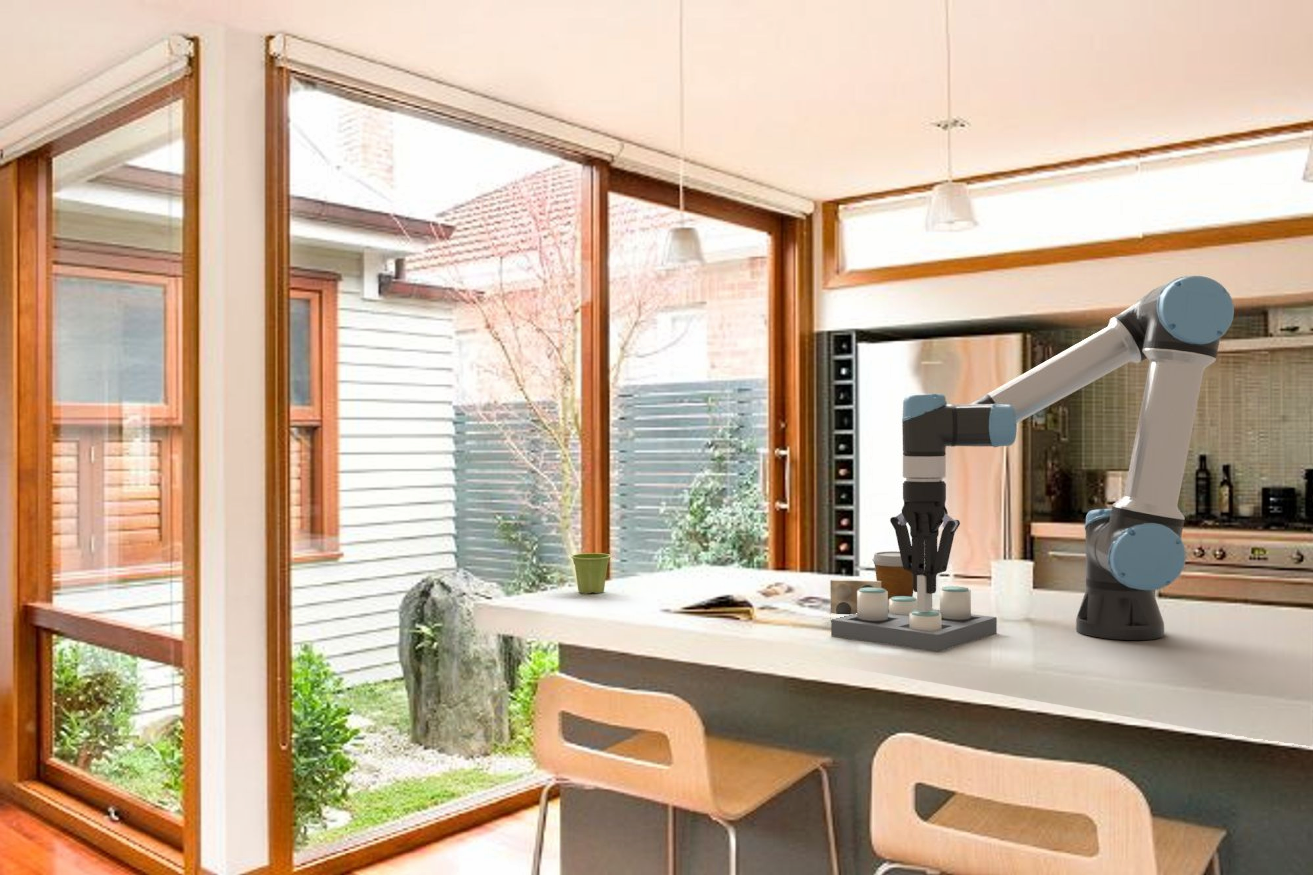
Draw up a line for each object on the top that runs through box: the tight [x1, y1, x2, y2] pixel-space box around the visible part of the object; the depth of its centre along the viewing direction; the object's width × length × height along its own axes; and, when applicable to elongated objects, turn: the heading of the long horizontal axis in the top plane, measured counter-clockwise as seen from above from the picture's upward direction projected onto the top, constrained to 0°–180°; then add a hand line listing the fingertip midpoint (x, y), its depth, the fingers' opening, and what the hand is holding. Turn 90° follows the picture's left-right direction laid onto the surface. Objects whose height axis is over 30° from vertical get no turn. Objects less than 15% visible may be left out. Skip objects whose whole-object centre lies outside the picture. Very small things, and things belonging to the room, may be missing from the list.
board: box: [830, 606, 998, 653], centre depth 202 cm, size 22×22×3 cm
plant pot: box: [571, 552, 612, 594], centre depth 257 cm, size 9×9×9 cm
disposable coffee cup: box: [871, 550, 914, 606], centre depth 228 cm, size 10×10×12 cm
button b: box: [889, 596, 917, 616], centre depth 210 cm, size 6×6×5 cm
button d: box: [857, 587, 888, 621], centre depth 202 cm, size 6×6×5 cm
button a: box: [939, 585, 972, 620], centre depth 202 cm, size 6×6×5 cm
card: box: [829, 579, 881, 614], centre depth 217 cm, size 10×1×8 cm, turn 76°
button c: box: [909, 610, 942, 632], centre depth 194 cm, size 6×6×5 cm
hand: (924, 610), depth 194 cm, fingers closed
